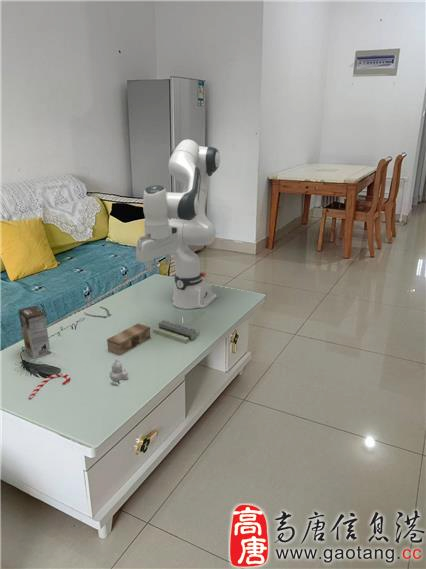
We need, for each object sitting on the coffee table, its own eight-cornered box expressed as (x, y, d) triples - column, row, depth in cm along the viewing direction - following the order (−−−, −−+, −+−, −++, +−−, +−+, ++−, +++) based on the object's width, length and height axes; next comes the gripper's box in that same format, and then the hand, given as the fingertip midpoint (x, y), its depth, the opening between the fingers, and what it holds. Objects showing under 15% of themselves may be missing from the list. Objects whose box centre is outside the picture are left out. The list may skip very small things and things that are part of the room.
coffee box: (24, 349, 160) (17, 309, 155) (42, 344, 164) (36, 304, 159) (33, 359, 154) (26, 317, 148) (51, 353, 158) (45, 312, 152)
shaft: (164, 327, 174) (163, 320, 173) (196, 337, 165) (196, 330, 164) (158, 330, 171) (158, 323, 170) (191, 341, 163) (191, 333, 162)
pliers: (97, 305, 198) (132, 313, 189) (97, 307, 199) (132, 315, 189) (81, 313, 190) (117, 322, 181) (82, 314, 191) (117, 324, 181)
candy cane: (20, 394, 132) (56, 370, 145) (21, 398, 133) (56, 373, 146) (40, 400, 129) (74, 375, 142) (40, 404, 130) (75, 379, 143)
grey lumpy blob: (116, 374, 144) (114, 353, 142) (133, 378, 142) (131, 357, 139) (106, 382, 140) (103, 360, 137) (123, 387, 137) (121, 365, 134)
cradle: (167, 328, 177) (167, 321, 176) (199, 338, 168) (199, 331, 167) (153, 336, 170) (153, 329, 169) (185, 347, 162) (185, 340, 161)
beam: (139, 337, 169) (138, 323, 167) (150, 341, 166) (149, 327, 164) (108, 354, 157) (106, 339, 155) (120, 358, 154) (118, 343, 152)
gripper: (144, 239, 149) (146, 277, 154) (180, 227, 165) (182, 261, 170) (130, 236, 152) (133, 273, 157) (168, 225, 168) (169, 259, 173)
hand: (159, 267), depth 164 cm, fingers open, 8 cm apart
